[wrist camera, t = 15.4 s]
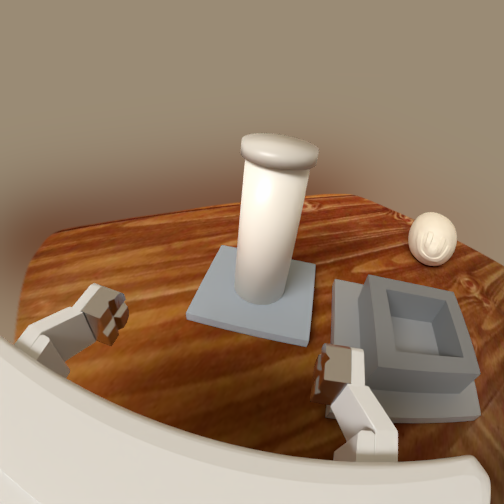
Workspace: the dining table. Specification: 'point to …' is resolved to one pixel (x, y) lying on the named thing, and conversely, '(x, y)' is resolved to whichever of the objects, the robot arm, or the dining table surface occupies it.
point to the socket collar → (409, 348)
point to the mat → (251, 315)
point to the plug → (270, 212)
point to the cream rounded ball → (432, 239)
